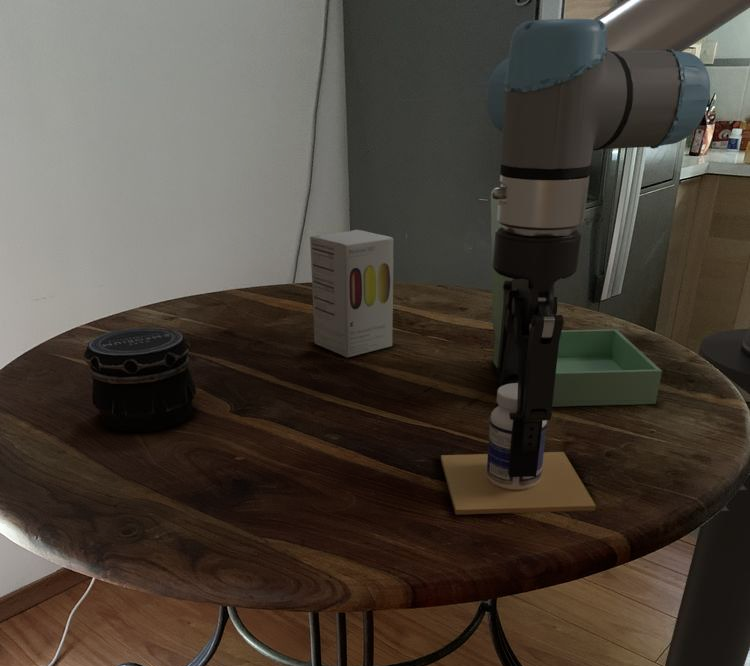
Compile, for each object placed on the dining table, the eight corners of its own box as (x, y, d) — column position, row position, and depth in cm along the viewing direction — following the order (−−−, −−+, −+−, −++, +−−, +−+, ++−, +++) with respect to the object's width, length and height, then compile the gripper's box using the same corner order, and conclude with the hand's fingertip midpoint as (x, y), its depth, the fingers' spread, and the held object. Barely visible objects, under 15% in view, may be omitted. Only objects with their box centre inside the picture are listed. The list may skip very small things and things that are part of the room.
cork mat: (563, 456, 83) (563, 451, 83) (595, 510, 73) (595, 505, 73) (440, 459, 83) (440, 455, 83) (455, 515, 73) (455, 509, 72)
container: (153, 389, 102) (141, 318, 97) (219, 409, 96) (210, 334, 91) (75, 420, 93) (57, 344, 88) (143, 444, 87) (128, 364, 82)
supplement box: (347, 359, 112) (343, 244, 104) (312, 344, 119) (306, 235, 110) (394, 346, 118) (395, 236, 109) (359, 332, 124) (357, 227, 115)
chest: (611, 358, 112) (616, 329, 109) (655, 404, 96) (662, 370, 94) (493, 361, 111) (495, 331, 109) (518, 407, 96) (521, 374, 93)
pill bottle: (535, 466, 80) (545, 380, 75) (544, 492, 75) (556, 401, 70) (483, 466, 80) (489, 379, 75) (488, 491, 75) (495, 401, 70)
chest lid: (496, 190, 99) (490, 191, 99) (526, 212, 83) (519, 213, 83) (498, 328, 108) (492, 329, 108) (524, 370, 93) (518, 371, 93)
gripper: (478, 211, 73) (465, 424, 85) (519, 250, 57) (496, 507, 68) (553, 209, 73) (530, 422, 85) (615, 248, 57) (576, 505, 69)
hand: (515, 460), depth 77 cm, fingers closed on pill bottle, 6 cm apart
